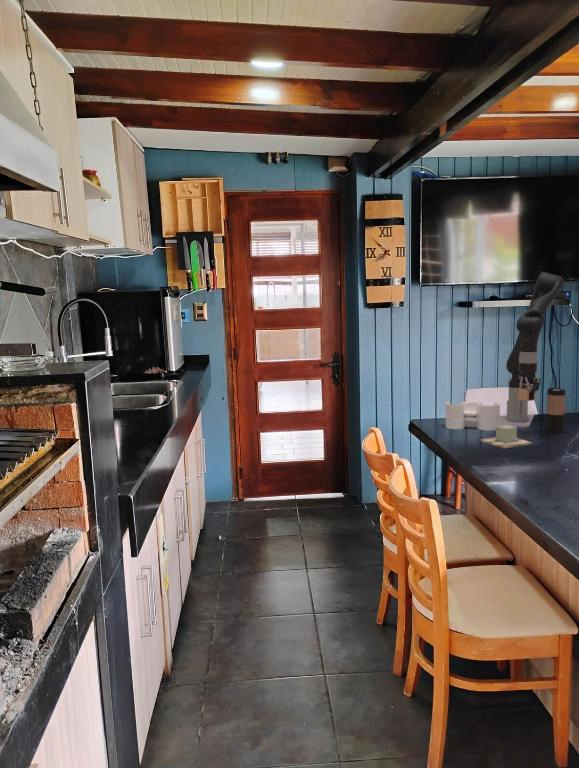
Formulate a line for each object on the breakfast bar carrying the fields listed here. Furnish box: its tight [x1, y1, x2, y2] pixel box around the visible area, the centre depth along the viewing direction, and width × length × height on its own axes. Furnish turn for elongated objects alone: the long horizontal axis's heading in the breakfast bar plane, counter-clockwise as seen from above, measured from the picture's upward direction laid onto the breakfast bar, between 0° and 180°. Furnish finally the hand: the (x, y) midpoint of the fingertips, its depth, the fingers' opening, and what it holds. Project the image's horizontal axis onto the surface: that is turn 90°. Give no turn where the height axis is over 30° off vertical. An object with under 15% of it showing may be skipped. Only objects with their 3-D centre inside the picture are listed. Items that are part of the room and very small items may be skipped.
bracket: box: [445, 401, 501, 432], centre depth 276 cm, size 25×10×12 cm, turn 73°
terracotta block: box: [518, 387, 537, 402], centre depth 257 cm, size 5×5×5 cm
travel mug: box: [546, 387, 566, 435], centre depth 261 cm, size 8×8×20 cm
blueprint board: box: [480, 436, 533, 449], centre depth 247 cm, size 15×15×1 cm
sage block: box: [495, 424, 518, 443], centre depth 246 cm, size 6×6×6 cm
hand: (526, 398), depth 258 cm, fingers closed on terracotta block, 5 cm apart
